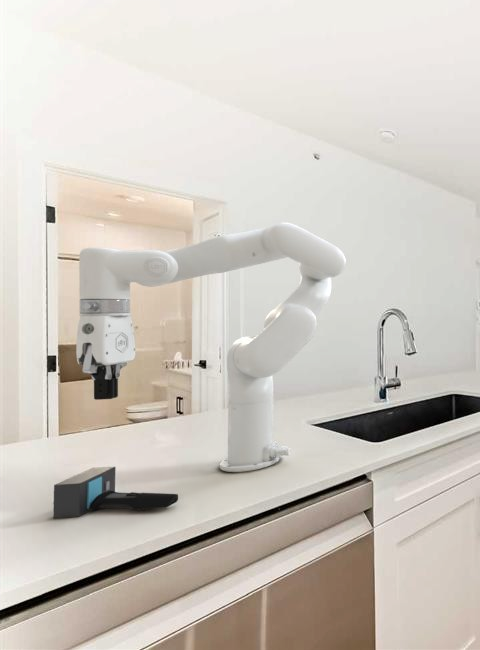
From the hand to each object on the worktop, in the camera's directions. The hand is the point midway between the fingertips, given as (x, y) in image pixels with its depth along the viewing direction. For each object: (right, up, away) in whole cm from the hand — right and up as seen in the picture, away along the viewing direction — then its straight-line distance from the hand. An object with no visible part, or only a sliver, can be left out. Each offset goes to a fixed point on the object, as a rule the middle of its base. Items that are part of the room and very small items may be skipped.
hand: (106, 398), depth 87 cm
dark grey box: (0, -17, -1) cm, 17 cm away
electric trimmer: (+11, -20, -6) cm, 24 cm away
